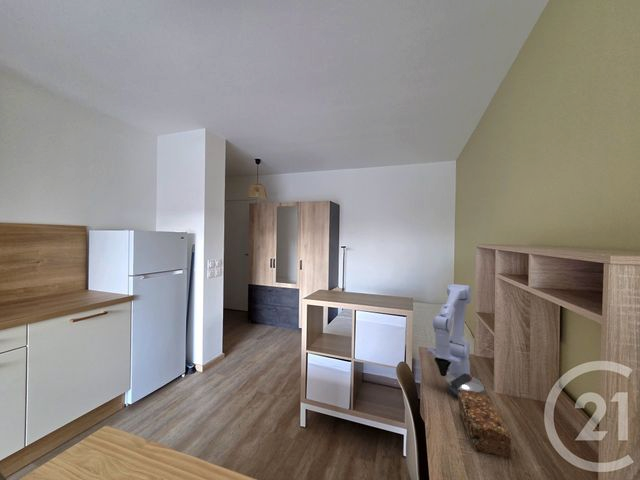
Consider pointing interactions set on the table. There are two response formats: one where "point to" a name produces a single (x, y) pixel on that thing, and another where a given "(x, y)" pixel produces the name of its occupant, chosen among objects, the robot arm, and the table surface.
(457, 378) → the lid
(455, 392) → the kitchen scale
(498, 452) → the bread
